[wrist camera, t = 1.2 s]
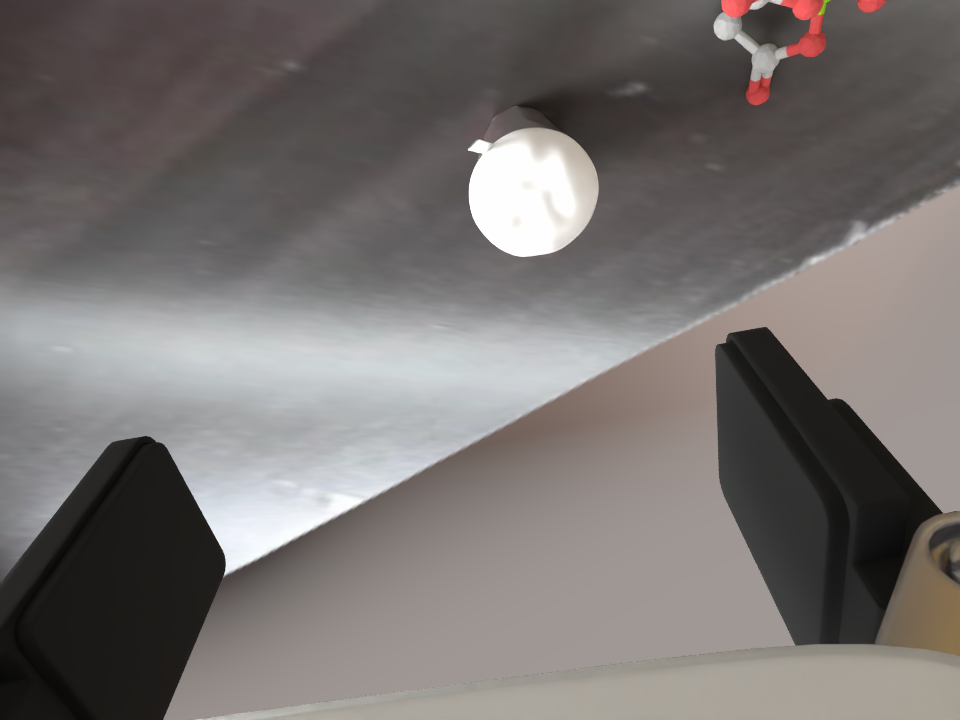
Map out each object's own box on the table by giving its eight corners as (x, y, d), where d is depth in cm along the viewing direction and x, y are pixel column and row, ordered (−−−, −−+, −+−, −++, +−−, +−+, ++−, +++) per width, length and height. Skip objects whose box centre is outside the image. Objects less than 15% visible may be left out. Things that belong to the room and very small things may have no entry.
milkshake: (509, 51, 29) (527, 89, 20) (588, 143, 31) (635, 214, 22) (435, 127, 30) (422, 193, 22) (515, 210, 32) (532, 301, 24)
